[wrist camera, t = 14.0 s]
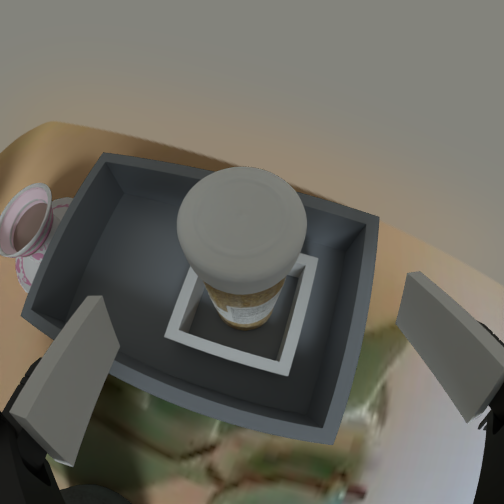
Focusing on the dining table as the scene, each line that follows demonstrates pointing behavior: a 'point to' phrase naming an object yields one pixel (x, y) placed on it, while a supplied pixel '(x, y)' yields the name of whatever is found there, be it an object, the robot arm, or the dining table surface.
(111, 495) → the vodka
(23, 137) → the dining table surface
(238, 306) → the sprinkles bottle
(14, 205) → the teacup
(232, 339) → the walled box
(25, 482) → the robot arm
